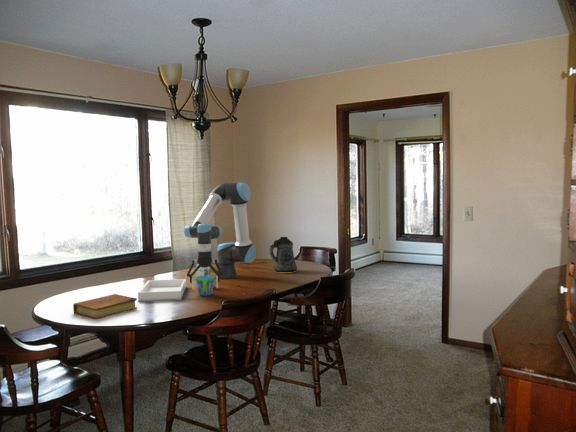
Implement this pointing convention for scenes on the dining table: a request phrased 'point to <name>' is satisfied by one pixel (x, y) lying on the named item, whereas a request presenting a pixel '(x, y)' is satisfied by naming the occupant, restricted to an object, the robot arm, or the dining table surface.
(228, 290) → the dining table surface
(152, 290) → the tote
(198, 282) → the snack cup
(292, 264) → the beer stein
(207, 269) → the syrup box
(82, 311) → the diary
